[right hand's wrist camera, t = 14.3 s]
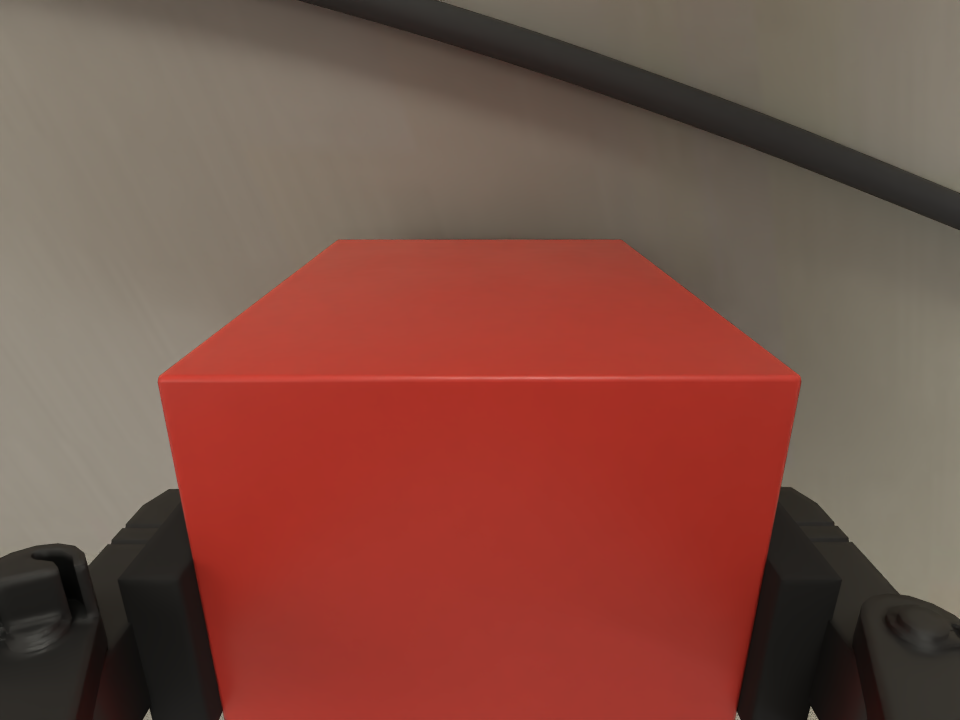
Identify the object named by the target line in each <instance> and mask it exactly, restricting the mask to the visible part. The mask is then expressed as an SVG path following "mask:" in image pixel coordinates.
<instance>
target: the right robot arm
mask: <svg viewBox="0 0 960 720" xmlns="http://www.w3.org/2000/svg"><path fill="white" fill-rule="evenodd" d="M299 1H303V2H307V3H310V4H314V5H317V6H321V7H324V8H328V9H332V10H335V11H339V12H342V13H346V14H349V15H353V16H356V17H360V18H363V19H367V20H370V21H373V22H377V23H380V24H384V25H387V26H391V27H394V28H398V29H401V30H404V31H408V32H411V33H414V34H418V35H421V36H425V37H428V38H431V39H435V40H438V41H441V42H444V43H448V44H451V45H454V46H458V47H461V48H464V49H467V50H471V51H474V52H477V53H480V54H483V55H487V56H490V57H493V58H496V59H499V60H502V61H505V62H509V63H512V64H515V65H518V66H521V67H524V68H527V69H530V70H533V71H536V72H539V73H542V74H545V75H548V76H551V77H554V78H557V79H560V80H563V81H566V82H569V83H572V84H575V85H578V86H581V87H584V88H586V89H589V90H592V91H595V92H598V93H601V94H604V95H607V96H610V97H612V98H615V99H618V100H621V101H624V102H627V103H630V104H632V105H635V106H638V107H641V108H644V109H647V110H649V111H652V112H655V113H658V114H661V115H664V116H666V117H669V118H672V119H675V120H678V121H680V122H683V123H686V124H689V125H692V126H694V127H697V128H700V129H703V130H705V131H708V132H711V133H714V134H716V135H719V136H722V137H724V138H727V139H730V140H733V141H735V142H738V143H741V144H743V145H746V146H749V147H751V148H754V149H757V150H759V151H762V152H765V153H767V154H770V155H772V156H775V157H778V158H780V159H783V160H785V161H788V162H791V163H793V164H796V165H798V166H801V167H803V168H806V169H808V170H811V171H814V172H816V173H819V174H821V175H824V176H826V177H829V178H831V179H834V180H836V181H839V182H841V183H844V184H846V185H849V186H851V187H854V188H856V189H859V190H861V191H864V192H866V193H869V194H871V195H874V196H876V197H879V198H881V199H884V200H886V201H889V202H891V203H894V204H896V205H899V206H901V207H904V208H906V209H909V210H911V211H914V212H916V213H919V214H921V215H924V216H926V217H929V218H931V219H933V220H936V221H938V222H941V223H943V224H946V225H948V226H951V227H953V228H956V229H958V230H960V193H958V192H955V191H953V190H951V189H948V188H946V187H943V186H941V185H938V184H936V183H933V182H931V181H929V180H926V179H924V178H921V177H919V176H916V175H914V174H912V173H909V172H907V171H904V170H902V169H899V168H897V167H895V166H892V165H890V164H887V163H885V162H882V161H880V160H877V159H875V158H873V157H870V156H868V155H865V154H863V153H860V152H858V151H855V150H853V149H851V148H848V147H846V146H843V145H841V144H838V143H836V142H833V141H831V140H828V139H826V138H823V137H821V136H818V135H816V134H813V133H811V132H808V131H806V130H803V129H801V128H798V127H796V126H793V125H791V124H788V123H786V122H783V121H780V120H778V119H775V118H773V117H770V116H767V115H765V114H762V113H760V112H757V111H754V110H752V109H749V108H747V107H744V106H741V105H739V104H736V103H733V102H731V101H728V100H725V99H723V98H720V97H717V96H715V95H712V94H709V93H706V92H704V91H701V90H698V89H696V88H693V87H690V86H687V85H685V84H682V83H679V82H676V81H674V80H671V79H668V78H665V77H662V76H660V75H657V74H654V73H651V72H649V71H646V70H643V69H640V68H637V67H635V66H632V65H629V64H626V63H623V62H621V61H618V60H615V59H612V58H609V57H607V56H604V55H601V54H598V53H595V52H592V51H590V50H587V49H584V48H581V47H578V46H575V45H572V44H569V43H566V42H564V41H561V40H558V39H555V38H552V37H549V36H546V35H543V34H540V33H537V32H534V31H531V30H528V29H525V28H522V27H519V26H516V25H513V24H510V23H507V22H504V21H501V20H497V19H494V18H491V17H488V16H485V15H482V14H479V13H476V12H472V11H469V10H466V9H463V8H460V7H456V6H453V5H450V4H447V3H444V2H440V1H437V0H299ZM810 706H811V707H812V709H813V711H814V712H815V714H816V716H817V717H818V719H819V720H960V619H959V618H957V617H956V616H955V615H953V614H951V613H949V612H947V611H945V610H944V609H942V608H940V607H938V606H936V605H934V604H932V603H929V602H926V601H923V600H920V599H917V598H914V597H911V596H906V595H900V594H899V593H898V592H897V591H896V590H895V589H894V588H893V586H892V585H891V584H890V583H889V582H888V581H887V580H886V579H885V578H884V577H883V575H882V574H881V573H880V572H879V571H878V570H877V569H876V568H875V567H874V566H873V564H872V563H871V562H870V561H869V560H868V559H867V558H866V557H865V556H864V555H863V553H862V552H861V551H860V550H859V549H858V548H857V547H856V546H855V545H854V544H853V542H849V540H848V537H847V536H846V535H845V534H844V532H843V531H842V530H841V529H840V528H839V527H838V526H835V525H834V521H833V520H832V519H831V518H830V517H829V516H828V515H827V514H826V513H825V512H824V510H823V509H822V508H821V507H820V506H819V505H818V504H817V503H816V502H814V501H812V500H811V499H809V498H808V497H806V496H804V495H803V494H801V493H799V492H798V491H796V490H795V489H793V488H791V487H781V488H780V493H779V498H778V503H777V508H776V513H775V519H774V524H773V529H772V534H771V539H770V544H769V549H768V554H767V559H766V564H765V569H764V575H763V580H762V585H761V590H760V595H759V600H758V605H757V610H756V615H755V620H754V625H753V631H752V636H751V641H750V646H749V651H748V656H747V661H746V666H745V671H744V676H743V682H742V687H741V692H740V697H739V702H738V707H737V712H738V715H739V717H740V719H741V720H807V718H808V714H809V710H810ZM149 708H150V712H151V716H152V720H219V718H220V716H221V714H222V711H223V710H222V705H221V700H220V695H219V689H218V684H217V679H216V674H215V669H214V664H213V659H212V654H211V649H210V644H209V639H208V634H207V629H206V624H205V619H204V614H203V608H202V603H201V598H200V593H199V588H198V583H197V578H196V573H195V568H194V563H193V558H192V553H191V548H190V543H189V538H188V533H187V528H186V522H185V517H184V512H183V507H182V502H181V497H180V492H179V489H169V490H167V491H165V492H164V493H162V494H161V495H159V496H157V497H156V498H154V499H153V500H151V501H149V502H148V503H146V504H144V505H143V506H142V507H141V508H140V509H139V510H138V511H137V513H136V514H135V515H134V516H133V517H132V518H131V519H130V520H129V521H128V523H127V524H126V528H122V529H121V530H120V531H119V533H118V534H117V535H116V536H115V537H114V538H113V539H112V542H111V544H108V545H107V546H106V547H105V548H104V549H103V550H102V551H101V552H100V554H99V555H98V556H97V557H96V558H95V559H94V560H93V561H92V562H91V564H90V565H89V566H88V565H87V561H86V557H85V554H84V552H82V551H81V550H80V549H78V548H77V547H76V546H72V545H66V544H59V543H57V544H47V545H38V546H33V547H30V548H26V549H23V550H19V551H16V552H13V553H10V554H8V555H6V556H4V557H1V558H0V720H143V718H144V716H145V715H146V713H147V711H148V709H149Z"/></svg>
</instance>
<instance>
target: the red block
mask: <svg viewBox="0 0 960 720" xmlns="http://www.w3.org/2000/svg"><path fill="white" fill-rule="evenodd" d="M158 386H159V391H160V396H161V401H162V406H163V411H164V416H165V421H166V426H167V431H168V436H169V441H170V447H171V452H172V457H173V462H174V467H175V472H176V477H177V482H178V487H179V492H180V497H181V502H182V507H183V512H184V517H185V522H186V528H187V533H188V538H189V543H190V548H191V553H192V558H193V563H194V568H195V573H196V578H197V583H198V588H199V593H200V598H201V603H202V608H203V614H204V619H205V624H206V629H207V634H208V639H209V644H210V649H211V654H212V659H213V664H214V669H215V674H216V679H217V684H218V689H219V695H220V700H221V705H222V710H223V715H224V720H735V717H736V712H737V707H738V702H739V697H740V692H741V687H742V682H743V676H744V671H745V666H746V661H747V656H748V651H749V646H750V641H751V636H752V631H753V625H754V620H755V615H756V610H757V605H758V600H759V595H760V590H761V585H762V580H763V575H764V569H765V564H766V559H767V554H768V549H769V544H770V539H771V534H772V529H773V524H774V519H775V513H776V508H777V503H778V498H779V493H780V488H781V483H782V478H783V473H784V468H785V462H786V457H787V452H788V447H789V442H790V437H791V432H792V427H793V422H794V417H795V412H796V406H797V401H798V396H799V391H800V386H801V378H800V375H798V374H797V373H796V372H794V371H793V370H792V369H790V368H789V367H788V366H786V365H785V364H784V363H783V362H781V361H780V360H779V359H777V358H776V357H775V356H773V355H772V354H771V353H769V352H768V351H767V350H765V349H764V348H763V347H762V346H760V345H759V344H758V343H756V342H755V341H754V340H752V339H751V338H750V337H748V336H747V335H746V334H744V333H743V332H742V331H741V330H739V329H738V328H737V327H735V326H734V325H733V324H731V323H730V322H729V321H727V320H726V319H725V318H724V317H722V316H721V315H720V314H718V313H717V312H716V311H714V310H713V309H712V308H710V307H709V306H708V305H706V304H705V303H704V302H703V301H701V300H700V299H699V298H697V297H696V296H695V295H693V294H692V293H691V292H689V291H688V290H687V289H686V288H684V287H683V286H682V285H680V284H679V283H678V282H676V281H675V280H674V279H672V278H671V277H670V276H668V275H667V274H666V273H665V272H663V271H662V270H661V269H659V268H658V267H657V266H655V265H654V264H653V263H651V262H650V261H649V260H647V259H646V258H645V257H644V256H642V255H641V254H640V253H638V252H637V251H636V250H634V249H633V248H632V247H630V246H629V245H628V244H627V243H625V242H624V241H623V240H337V241H336V242H334V243H333V244H332V245H330V246H329V247H328V248H326V249H325V250H324V251H323V252H321V253H320V254H319V255H317V256H316V257H315V258H313V259H312V260H311V261H309V262H308V263H307V264H305V265H304V266H303V267H302V268H300V269H299V270H298V271H296V272H295V273H294V274H292V275H291V276H290V277H288V278H287V279H286V280H284V281H283V282H282V283H281V284H279V285H278V286H277V287H275V288H274V289H273V290H271V291H270V292H269V293H267V294H266V295H265V296H264V297H262V298H261V299H260V300H258V301H257V302H256V303H254V304H253V305H252V306H250V307H249V308H248V309H246V310H245V311H244V312H243V313H241V314H240V315H239V316H237V317H236V318H235V319H233V320H232V321H231V322H229V323H228V324H227V325H225V326H224V327H223V328H222V329H220V330H219V331H218V332H216V333H215V334H214V335H212V336H211V337H210V338H208V339H207V340H206V341H205V342H203V343H202V344H201V345H199V346H198V347H197V348H195V349H194V350H193V351H191V352H190V353H189V354H187V355H186V356H185V357H184V358H182V359H181V360H180V361H178V362H177V363H176V364H174V365H173V366H172V367H170V368H169V369H168V370H166V371H165V372H164V373H163V374H161V375H160V376H159V378H158Z"/></svg>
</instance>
